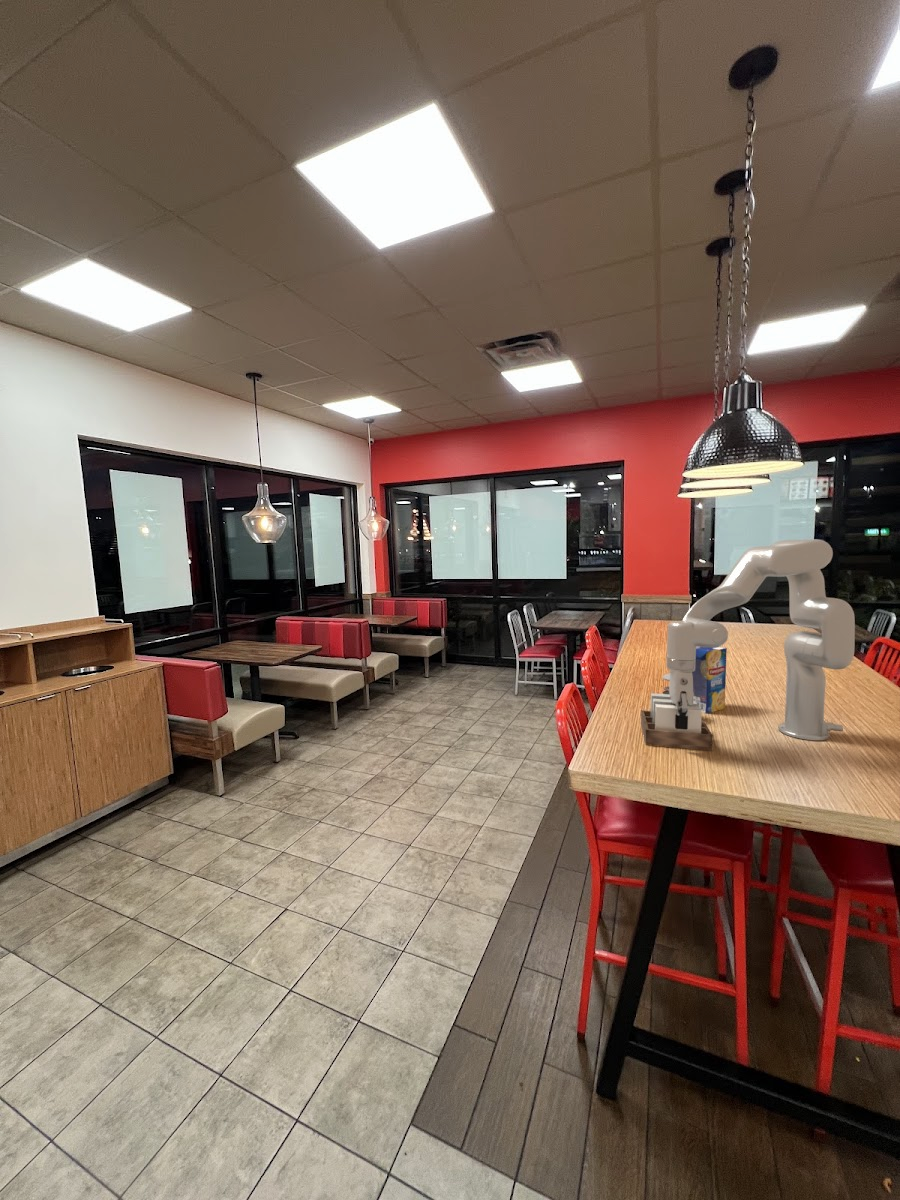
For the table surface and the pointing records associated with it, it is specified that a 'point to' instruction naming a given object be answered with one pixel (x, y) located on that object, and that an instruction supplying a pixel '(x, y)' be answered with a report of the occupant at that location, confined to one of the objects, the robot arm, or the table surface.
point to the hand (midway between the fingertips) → (678, 723)
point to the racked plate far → (658, 696)
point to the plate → (667, 718)
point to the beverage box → (710, 678)
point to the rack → (675, 735)
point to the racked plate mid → (665, 702)
